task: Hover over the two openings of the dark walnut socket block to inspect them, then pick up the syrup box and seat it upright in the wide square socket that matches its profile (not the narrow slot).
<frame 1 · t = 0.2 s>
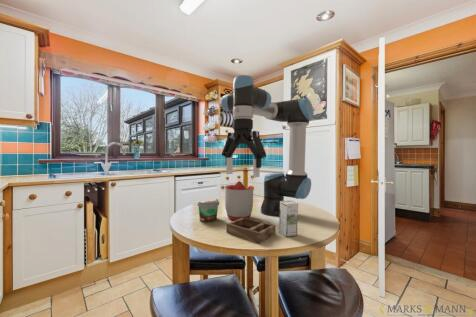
hand: (242, 175, 83), 27 cm above the table, fingers open, 13 cm apart
food container: (210, 221, 113), on the table
socket block: (250, 233, 96), on the table
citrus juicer: (239, 217, 119), on the table
syrup box: (288, 234, 96), on the table
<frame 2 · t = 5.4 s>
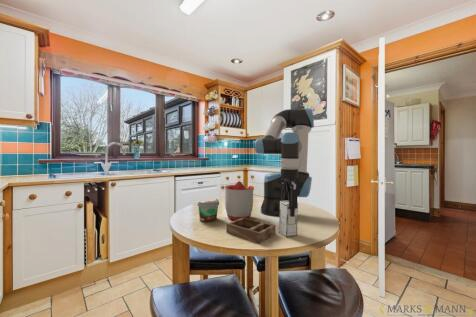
hand: (288, 220, 96), 6 cm above the table, fingers closed on syrup box, 7 cm apart
syrup box: (288, 234, 96), on the table, touching gripper
everything else where it was.
when the fingers open (7 cm above the table, at t = 10.6 s): syrup box stays where it is, resting on socket block.
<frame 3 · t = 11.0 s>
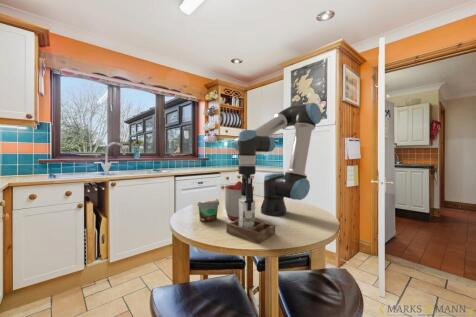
hand: (246, 213, 98), 8 cm above the table, fingers open, 12 cm apart
syrup box: (246, 231, 98), resting on socket block
everything else where it was.
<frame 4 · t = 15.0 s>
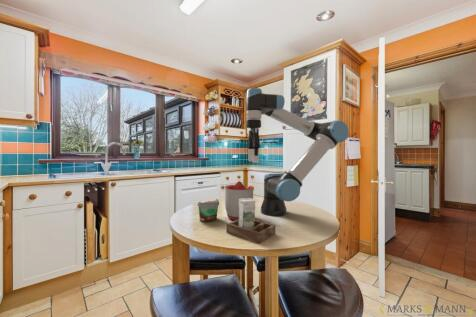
hand: (253, 161, 112), 31 cm above the table, fingers open, 13 cm apart
nothing on the table moved.
at the end: syrup box 0.1 cm from the target spot on the socket block, point 0.2 cm above the socket block's base; syrup box tilted 0°; the gripper is holding nothing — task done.
